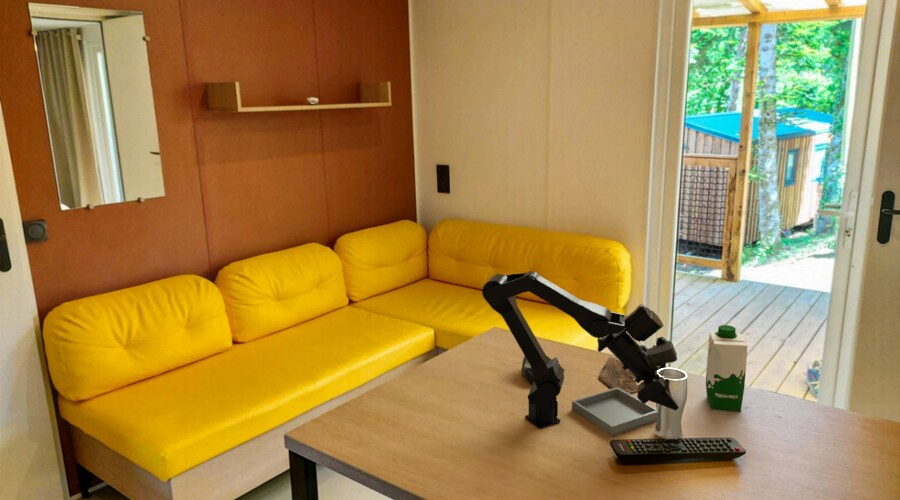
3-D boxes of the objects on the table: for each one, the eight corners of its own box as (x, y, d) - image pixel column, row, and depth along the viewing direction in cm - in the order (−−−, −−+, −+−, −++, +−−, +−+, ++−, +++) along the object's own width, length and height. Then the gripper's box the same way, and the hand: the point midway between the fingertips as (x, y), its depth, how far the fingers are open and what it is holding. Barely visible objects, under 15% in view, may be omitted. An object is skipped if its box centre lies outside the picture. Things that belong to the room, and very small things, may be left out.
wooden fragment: (642, 398, 167) (642, 394, 166) (599, 396, 169) (599, 392, 168) (633, 359, 191) (633, 356, 191) (596, 357, 193) (596, 354, 193)
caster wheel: (550, 394, 175) (515, 385, 178) (557, 370, 185) (524, 362, 188) (552, 375, 172) (517, 367, 175) (560, 352, 182) (526, 344, 184)
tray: (612, 436, 148) (612, 426, 148) (571, 410, 161) (572, 401, 161) (659, 420, 155) (659, 410, 154) (617, 395, 168) (617, 387, 167)
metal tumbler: (659, 422, 152) (662, 364, 149) (688, 431, 148) (692, 372, 144) (647, 434, 147) (651, 375, 143) (677, 444, 143) (681, 383, 139)
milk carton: (738, 397, 164) (744, 325, 160) (745, 414, 156) (751, 338, 151) (702, 395, 167) (707, 323, 162) (707, 411, 158) (712, 336, 153)
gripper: (656, 347, 134) (708, 400, 134) (656, 317, 151) (702, 365, 151) (616, 377, 138) (666, 429, 138) (620, 345, 156) (665, 391, 155)
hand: (676, 402), depth 145 cm, fingers closed on metal tumbler, 6 cm apart
